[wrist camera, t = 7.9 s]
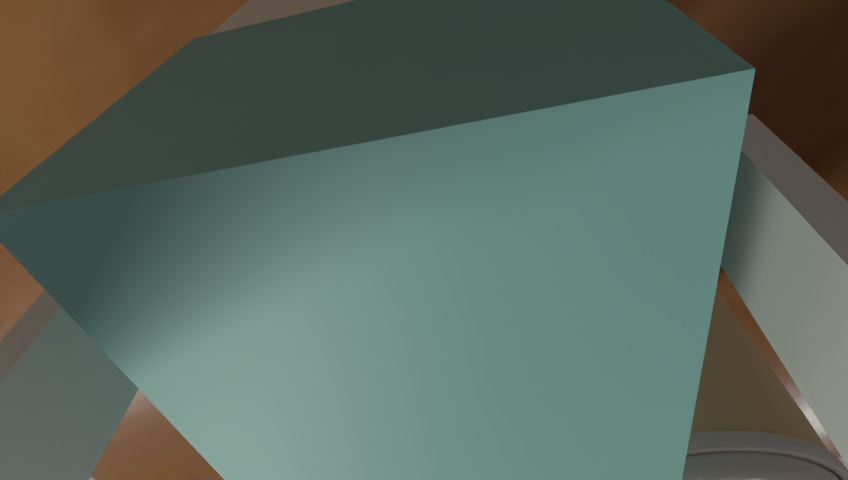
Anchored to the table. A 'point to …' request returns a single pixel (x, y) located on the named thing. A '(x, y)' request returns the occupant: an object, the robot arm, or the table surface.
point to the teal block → (408, 238)
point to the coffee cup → (749, 416)
